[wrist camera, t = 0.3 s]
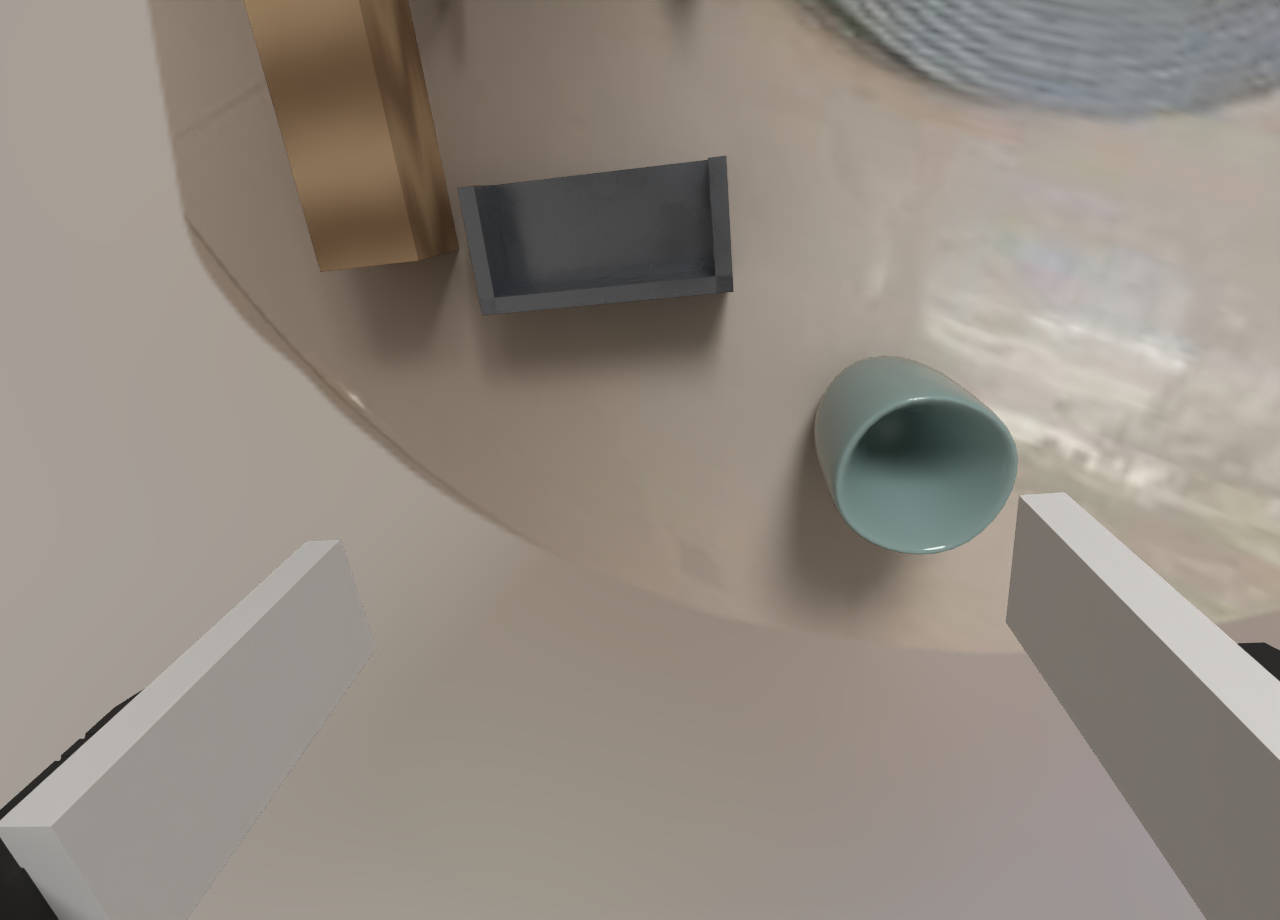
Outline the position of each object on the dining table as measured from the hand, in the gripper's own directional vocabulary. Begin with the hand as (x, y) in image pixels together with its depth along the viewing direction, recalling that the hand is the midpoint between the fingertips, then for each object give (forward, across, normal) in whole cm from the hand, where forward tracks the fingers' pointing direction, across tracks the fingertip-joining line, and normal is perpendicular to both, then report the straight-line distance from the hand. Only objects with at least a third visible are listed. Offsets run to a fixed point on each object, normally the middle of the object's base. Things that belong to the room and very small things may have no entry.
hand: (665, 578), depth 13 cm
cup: (+27, +10, -6) cm, 29 cm away
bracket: (+26, -4, +5) cm, 27 cm away
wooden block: (+27, -15, +13) cm, 33 cm away
